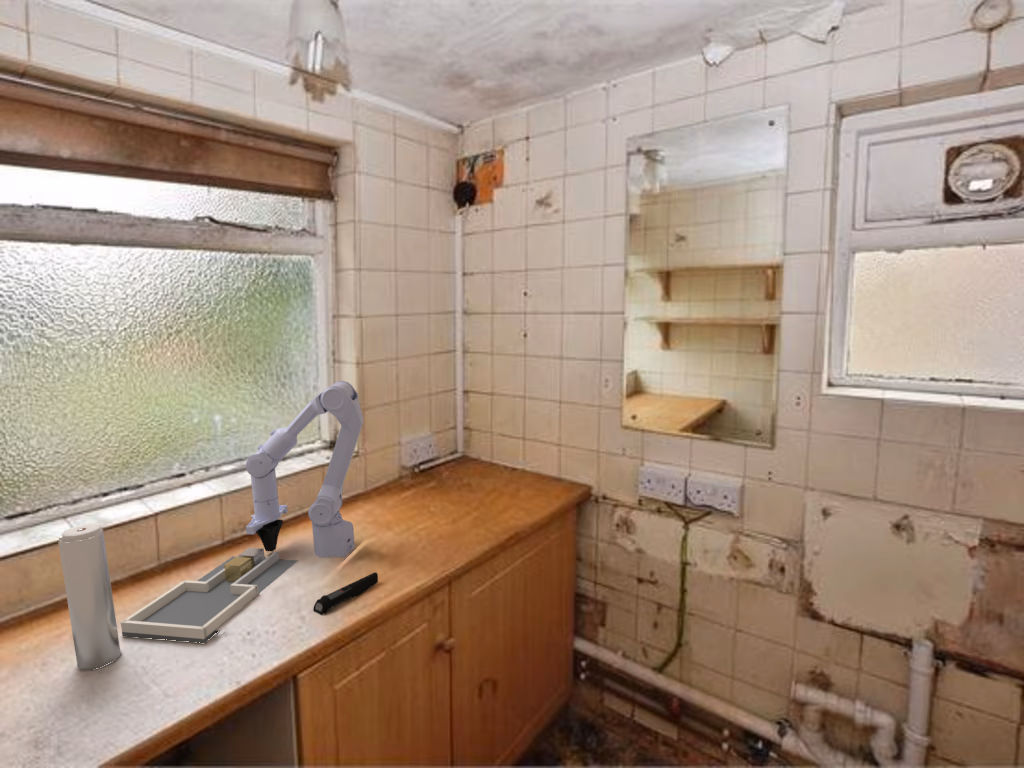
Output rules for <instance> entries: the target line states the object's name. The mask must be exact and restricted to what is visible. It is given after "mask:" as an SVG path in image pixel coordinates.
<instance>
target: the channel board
mask: <svg viewBox="0 0 1024 768" xmlns="http://www.w3.org/2000/svg"><path fill="white" fill-rule="evenodd" d="M235 557H236V556H232V557H230V558H228V559H226V560H225V561H223V562H222V563H221V564H220V565H217V567H215V568H213V569H212V570H211V571H209V572H208V573H206V574H205V575H203V576H202V577H201V578H199V579H198V580H186V579H185V580H182V581H181V582H179V583H178V584H177V585H175V586H173V587H172V588H169V590H168V591H166V592H165V593H163V594H161V595H159V596H158V597H156V598H155V599H154V600H152V601H150V602H149V603H148V604H146V605H145V606H143V607H141V608H140V609H139V610H136V612H134V613H133V614H131V615H129V616H128V617H126V618H125V619H123V620H122V621H121V622H120V628H121V635H122V637H123V636H127V637H126V638H132V637H138V638H137V639H143V638H152V639H151V640H155V639H165V640H164V641H166V639H167V640H176V641H175V642H177V641H189V642H197V643H196V644H200V643H205V642H206V641H207V640H208V639H210V638H211V637H212V636H213V635H214V634H215V633H217V632H218V631H219V630H218V628H219V627H221V626H222V625H223V624H225V623H226V622H227V621H228V620H230V619H231V617H233V616H234V615H236V613H237V612H238V611H240V610H241V609H242V608H244V607H245V606H246V605H247V604H248V603H250V601H252V600H253V599H254V598H255V597H257V596H258V595H259V594H260V593H261V592H262V591H264V590H265V589H267V587H269V586H270V585H271V584H272V583H273V582H275V581H276V580H277V579H278V578H280V577H281V576H282V575H283V574H284V573H286V572H287V570H289V569H290V568H292V567H293V566H294V565H295V564H296V563H297V562H298V561H299V560H298V559H282V558H281V559H280V553H279V551H276V550H274V551H273V552H272V553H271V554H270V555H269V556H267V557H265V560H263V561H262V562H261V563H259V564H258V565H257V566H255V567H254V568H253V569H251V570H250V571H249V572H247V573H246V574H245V575H243V576H242V577H241V578H239V579H238V580H237V581H235V582H227V581H226V578H225V569H224V565H225V564H226V563H228V562H229V561H231V560H232V559H233V558H235ZM218 633H219V632H218ZM218 633H217V634H218ZM213 637H214V636H213ZM213 637H212V638H213ZM212 638H211V639H212ZM211 639H210V640H211ZM199 642H200V643H199ZM206 643H207V642H206ZM206 643H205V644H206Z"/></svg>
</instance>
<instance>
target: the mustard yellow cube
mask: <svg viewBox="0 0 1024 768" xmlns="http://www.w3.org/2000/svg"><path fill="white" fill-rule="evenodd" d="M234 557H235V558H233V559H232V560H231V561H229V562H228V563H226V564H225V565H224V569H225V578H226V581H227V582H235V581H237V580H238V579H239V578H241V577H242V576H243V575H245V574H246V573H247V572H249V571H250V570H251V569H252V563H251V558H243V557H238V556H234Z"/></svg>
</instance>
